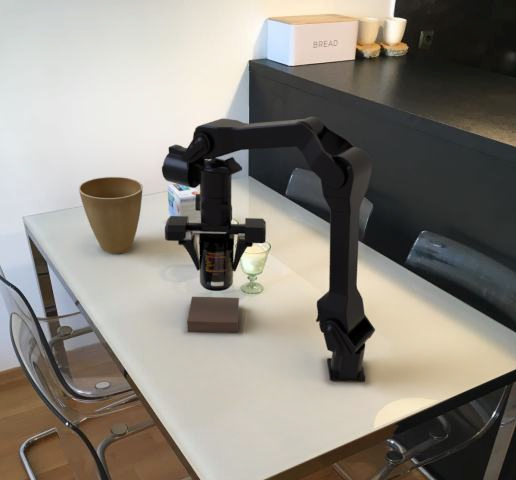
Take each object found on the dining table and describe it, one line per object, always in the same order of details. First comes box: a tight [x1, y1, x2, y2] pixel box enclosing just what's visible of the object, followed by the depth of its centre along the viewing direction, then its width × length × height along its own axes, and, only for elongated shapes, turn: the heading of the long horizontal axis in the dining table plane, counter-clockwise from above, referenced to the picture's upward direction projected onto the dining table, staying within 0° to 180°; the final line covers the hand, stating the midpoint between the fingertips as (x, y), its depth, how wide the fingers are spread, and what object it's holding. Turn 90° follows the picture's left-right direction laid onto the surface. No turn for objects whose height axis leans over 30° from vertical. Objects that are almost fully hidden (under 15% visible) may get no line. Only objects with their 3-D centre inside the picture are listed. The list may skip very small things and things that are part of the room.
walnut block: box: [186, 296, 240, 334], centre depth 124 cm, size 10×10×2 cm
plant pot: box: [78, 176, 144, 255], centre depth 147 cm, size 15×15×16 cm
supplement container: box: [198, 234, 235, 292], centre depth 116 cm, size 7×7×10 cm
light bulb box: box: [167, 183, 201, 235], centre depth 160 cm, size 11×7×11 cm, turn 25°
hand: (216, 269), depth 117 cm, fingers closed on supplement container, 7 cm apart
